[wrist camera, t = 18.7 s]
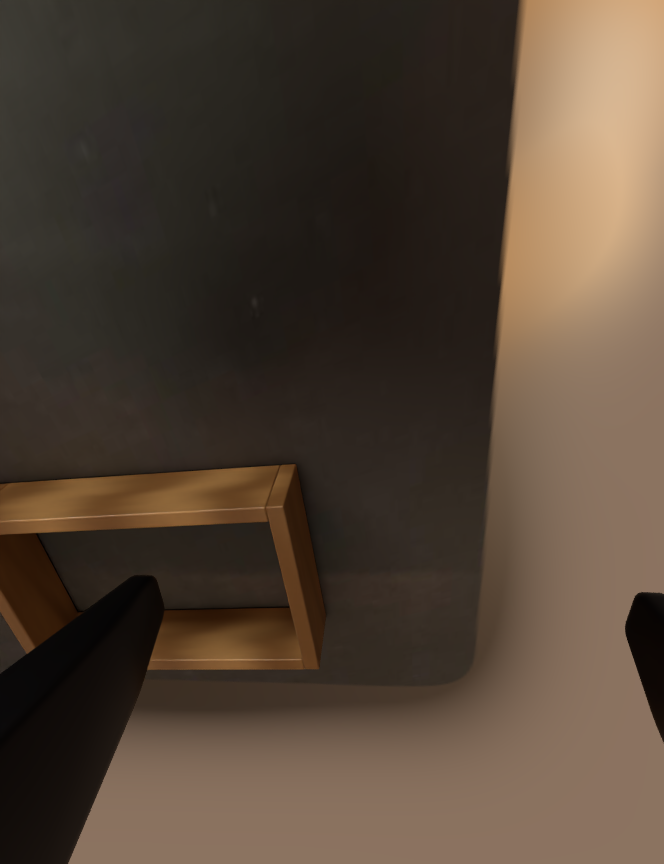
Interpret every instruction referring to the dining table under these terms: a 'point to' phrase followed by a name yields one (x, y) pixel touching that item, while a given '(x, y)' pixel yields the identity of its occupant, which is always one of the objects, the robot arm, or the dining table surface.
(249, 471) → the brown wooden rectangular frame
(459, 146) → the dining table surface
